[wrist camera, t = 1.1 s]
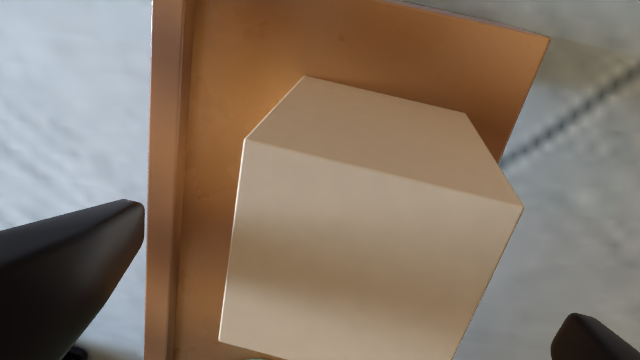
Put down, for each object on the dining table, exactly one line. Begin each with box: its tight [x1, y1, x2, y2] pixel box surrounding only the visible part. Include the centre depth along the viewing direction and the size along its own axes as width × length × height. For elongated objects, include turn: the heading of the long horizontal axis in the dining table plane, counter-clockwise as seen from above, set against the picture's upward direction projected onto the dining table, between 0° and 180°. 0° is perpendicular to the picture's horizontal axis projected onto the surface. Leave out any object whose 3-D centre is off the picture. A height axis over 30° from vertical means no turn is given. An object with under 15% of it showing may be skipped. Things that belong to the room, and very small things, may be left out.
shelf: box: [144, 0, 550, 360], centre depth 18 cm, size 20×11×6 cm, turn 168°
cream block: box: [219, 76, 524, 360], centre depth 11 cm, size 5×5×6 cm
